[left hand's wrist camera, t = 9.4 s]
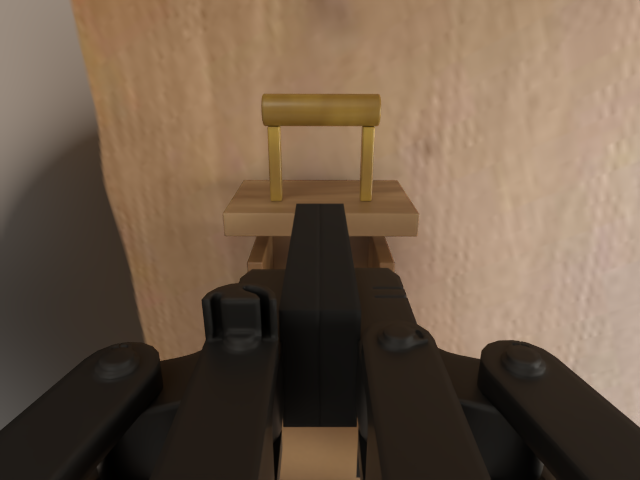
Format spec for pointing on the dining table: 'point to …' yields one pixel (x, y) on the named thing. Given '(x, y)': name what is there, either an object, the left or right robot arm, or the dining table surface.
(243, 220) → the drawer
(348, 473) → the cabinet
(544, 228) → the dining table surface
